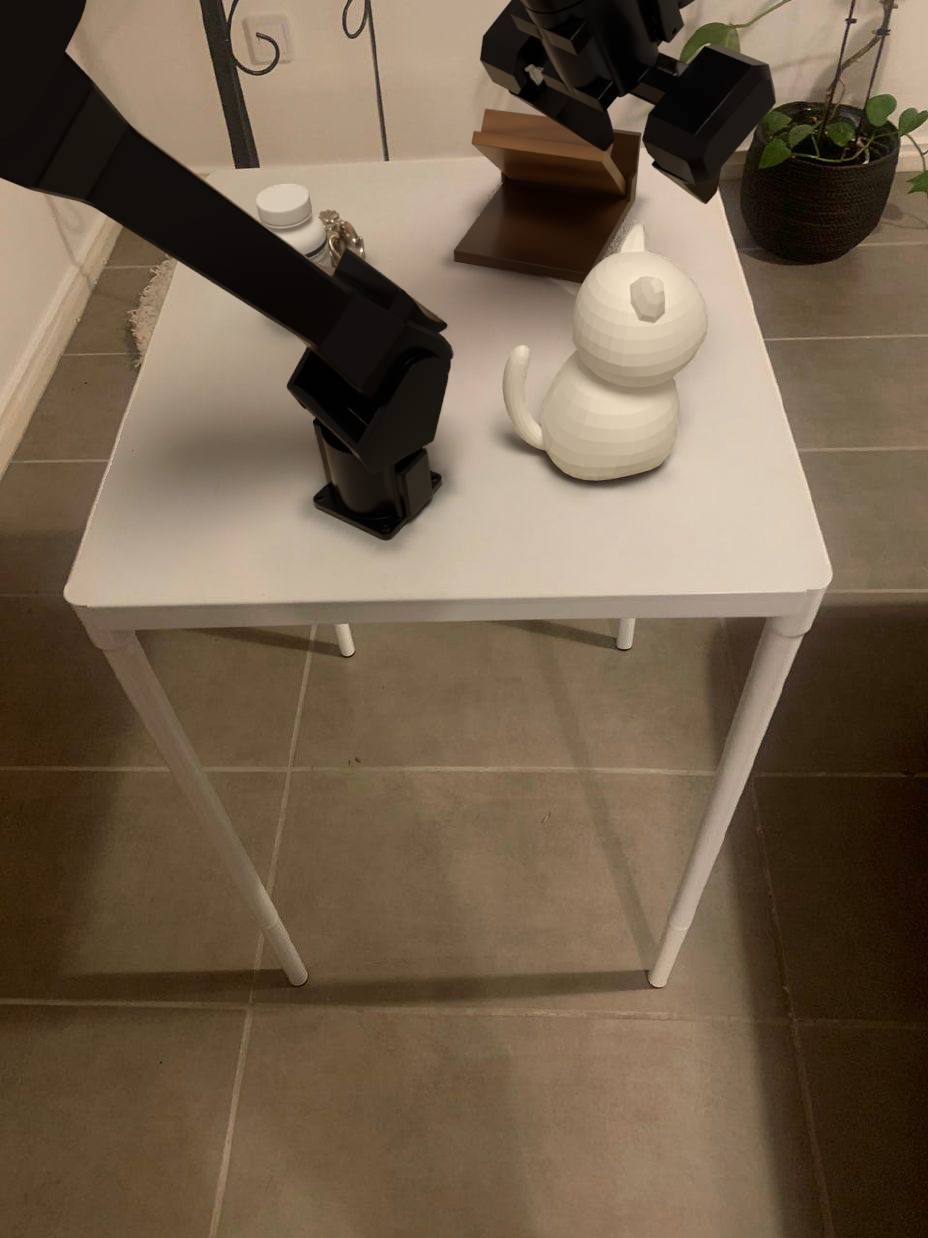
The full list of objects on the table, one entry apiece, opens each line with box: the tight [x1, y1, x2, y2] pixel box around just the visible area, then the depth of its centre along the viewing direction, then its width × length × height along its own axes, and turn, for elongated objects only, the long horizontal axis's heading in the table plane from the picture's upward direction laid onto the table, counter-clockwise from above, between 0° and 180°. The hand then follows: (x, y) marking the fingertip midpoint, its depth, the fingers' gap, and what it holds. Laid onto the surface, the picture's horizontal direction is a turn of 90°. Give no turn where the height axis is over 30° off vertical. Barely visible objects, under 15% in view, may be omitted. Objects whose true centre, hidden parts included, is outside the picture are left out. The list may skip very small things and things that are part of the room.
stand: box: [453, 128, 642, 285], centre depth 80 cm, size 14×12×6 cm
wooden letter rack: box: [470, 108, 628, 196], centre depth 79 cm, size 11×11×3 cm
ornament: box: [318, 209, 365, 268], centre depth 80 cm, size 8×7×4 cm
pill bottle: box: [255, 183, 333, 268], centre depth 73 cm, size 5×5×10 cm
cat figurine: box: [501, 221, 709, 481], centre depth 59 cm, size 9×12×15 cm
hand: (657, 170), depth 60 cm, fingers open, 9 cm apart
